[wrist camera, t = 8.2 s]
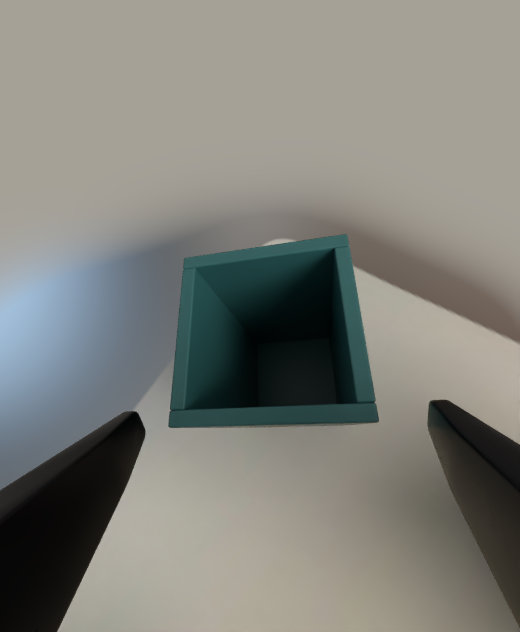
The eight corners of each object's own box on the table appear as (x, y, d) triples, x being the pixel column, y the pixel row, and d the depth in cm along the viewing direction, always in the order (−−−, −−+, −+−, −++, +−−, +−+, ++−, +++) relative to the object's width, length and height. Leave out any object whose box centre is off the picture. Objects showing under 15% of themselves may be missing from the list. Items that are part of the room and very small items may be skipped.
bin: (347, 424, 17) (380, 422, 7) (253, 427, 18) (167, 428, 8) (335, 332, 19) (347, 233, 9) (252, 339, 21) (183, 257, 11)
